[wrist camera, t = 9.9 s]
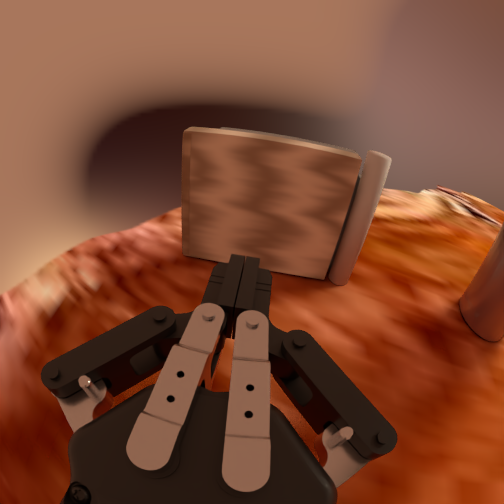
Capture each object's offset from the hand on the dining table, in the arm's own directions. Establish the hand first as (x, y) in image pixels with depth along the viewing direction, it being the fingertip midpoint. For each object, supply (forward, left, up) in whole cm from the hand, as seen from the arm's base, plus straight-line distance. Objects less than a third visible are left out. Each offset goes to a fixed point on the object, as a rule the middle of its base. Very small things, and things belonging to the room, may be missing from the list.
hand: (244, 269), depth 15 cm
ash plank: (0, -14, -10) cm, 17 cm away
